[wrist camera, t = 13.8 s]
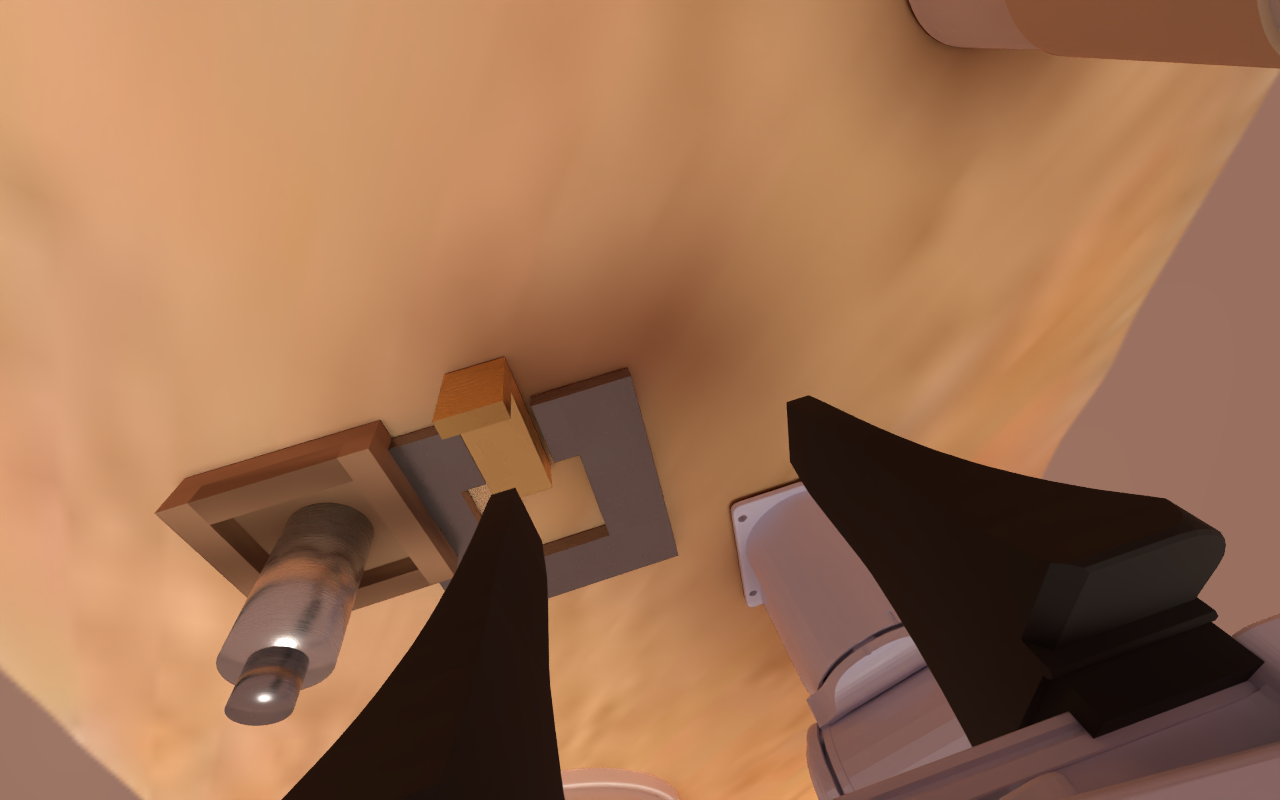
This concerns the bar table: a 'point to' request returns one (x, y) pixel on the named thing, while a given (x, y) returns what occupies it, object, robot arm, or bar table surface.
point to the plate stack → (614, 785)
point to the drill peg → (295, 613)
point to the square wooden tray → (305, 475)
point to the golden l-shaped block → (493, 427)
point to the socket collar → (571, 425)
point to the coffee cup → (1114, 28)
